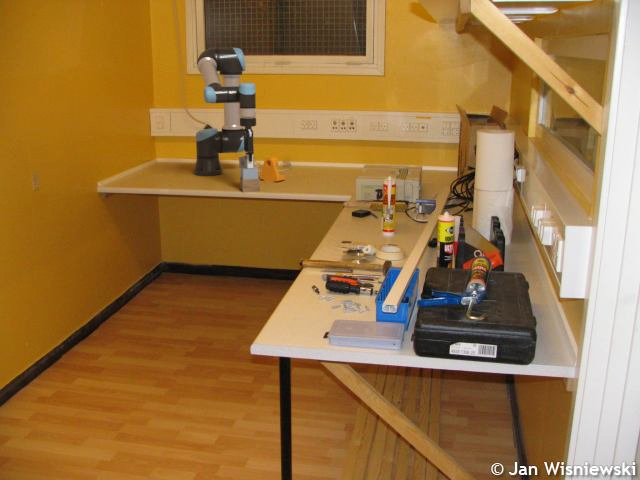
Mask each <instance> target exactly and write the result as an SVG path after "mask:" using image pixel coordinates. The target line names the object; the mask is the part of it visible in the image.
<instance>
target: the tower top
mask: <svg viewBox="0 0 640 480" xmlns="http://www.w3.org/2000/svg"><path fill="white" fill-rule="evenodd" d="M240 177H242V179H243V180H245V179H258V178H259V168H258V167H257V165H254V168H249V169H244V168H240Z"/></svg>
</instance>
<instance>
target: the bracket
mask: <svg viewBox="0 0 640 480" xmlns="http://www.w3.org/2000/svg"><path fill="white" fill-rule="evenodd" d="M278 166H279V160H278V158H277V157H276V156H272V157H268V158H265V159H264V162H263V165H262V168H261V171H260V175H259V177H260V178H259V179H260V180H264V182H268V183H276V182H280V181H284V180H286V176H285V174H280V173H279V170H278Z"/></svg>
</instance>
